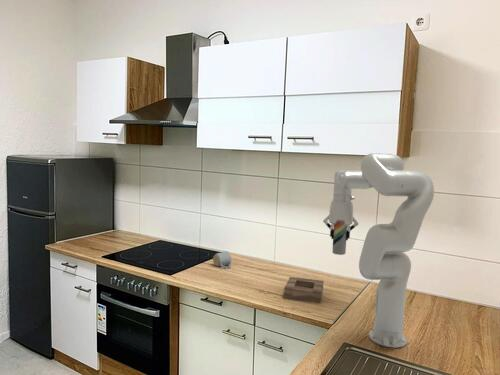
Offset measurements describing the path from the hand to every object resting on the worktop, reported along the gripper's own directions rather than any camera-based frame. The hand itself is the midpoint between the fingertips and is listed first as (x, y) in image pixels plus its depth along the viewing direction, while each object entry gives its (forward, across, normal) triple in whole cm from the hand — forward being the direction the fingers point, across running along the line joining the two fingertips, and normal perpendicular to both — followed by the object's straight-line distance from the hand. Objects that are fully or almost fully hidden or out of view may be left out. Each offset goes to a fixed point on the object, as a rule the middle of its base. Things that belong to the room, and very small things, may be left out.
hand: (339, 238), depth 168 cm
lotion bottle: (+7, 0, 0) cm, 7 cm away
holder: (+27, +14, 0) cm, 31 cm away
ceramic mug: (+28, +63, -28) cm, 74 cm away
